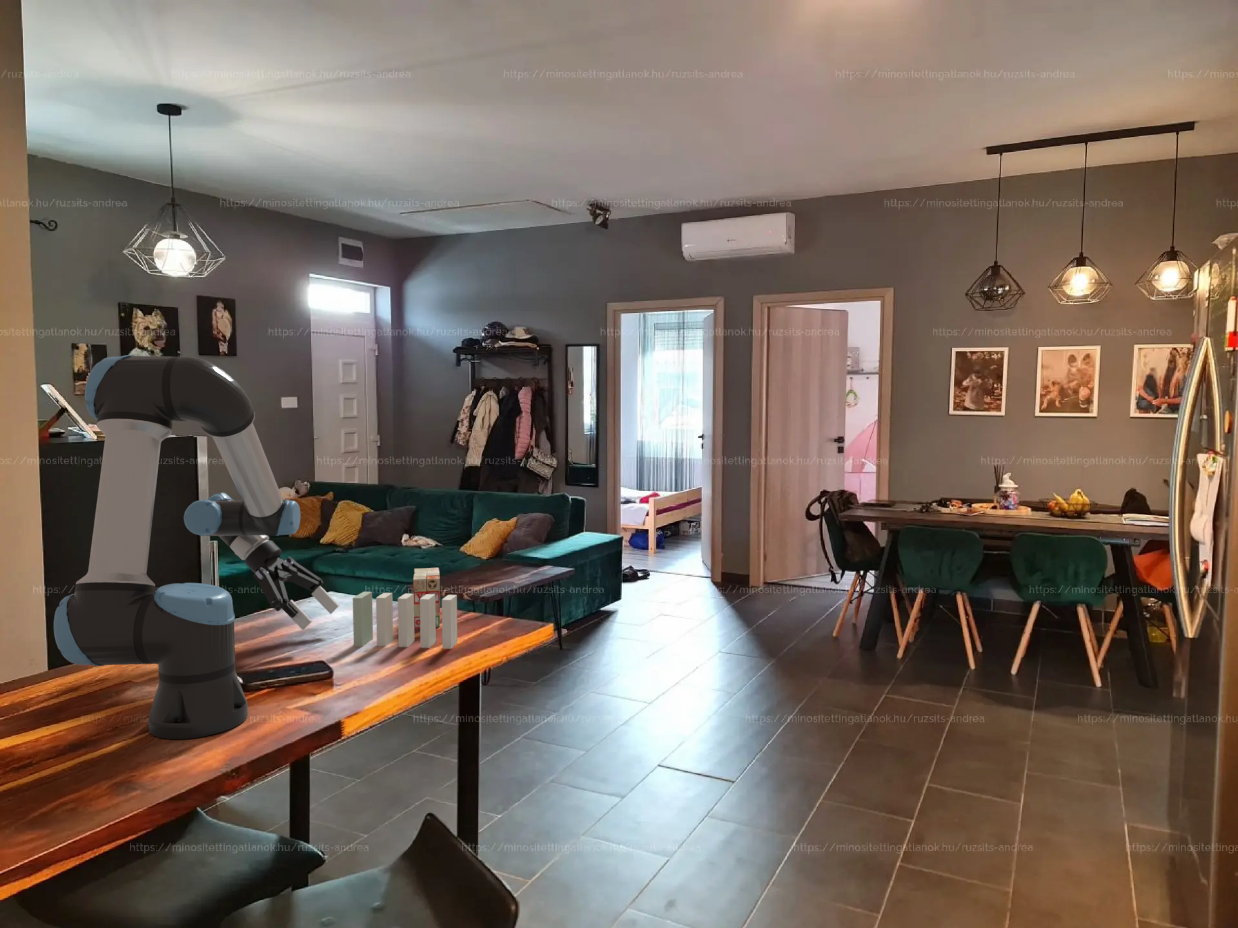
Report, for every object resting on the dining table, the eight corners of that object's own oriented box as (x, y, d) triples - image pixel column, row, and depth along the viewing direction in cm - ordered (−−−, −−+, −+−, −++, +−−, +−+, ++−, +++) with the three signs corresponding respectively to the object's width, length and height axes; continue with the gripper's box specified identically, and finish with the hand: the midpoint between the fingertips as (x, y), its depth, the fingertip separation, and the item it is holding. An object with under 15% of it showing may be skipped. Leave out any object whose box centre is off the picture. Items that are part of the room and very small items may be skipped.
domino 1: (376, 646, 186) (376, 597, 185) (384, 640, 191) (383, 592, 190) (385, 646, 186) (384, 597, 185) (393, 640, 191) (392, 593, 190)
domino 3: (420, 647, 185) (419, 598, 184) (427, 641, 190) (426, 594, 189) (429, 647, 185) (428, 599, 184) (435, 641, 190) (435, 594, 189)
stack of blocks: (415, 606, 221) (414, 561, 220) (439, 605, 223) (439, 560, 222) (413, 629, 200) (412, 578, 199) (440, 627, 202) (439, 577, 201)
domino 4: (442, 648, 185) (441, 599, 184) (448, 642, 189) (448, 594, 188) (451, 648, 185) (450, 599, 184) (457, 642, 189) (456, 594, 188)
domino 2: (398, 646, 186) (397, 598, 185) (405, 640, 190) (405, 593, 189) (407, 647, 186) (406, 598, 185) (414, 641, 190) (413, 593, 189)
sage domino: (353, 646, 186) (352, 597, 185) (364, 638, 192) (363, 591, 191) (362, 646, 186) (361, 598, 185) (372, 638, 192) (372, 591, 191)
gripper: (274, 551, 203) (335, 614, 202) (214, 572, 178) (283, 644, 178) (294, 530, 202) (355, 593, 201) (237, 549, 177) (306, 620, 177)
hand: (321, 617), depth 189 cm, fingers open, 13 cm apart
